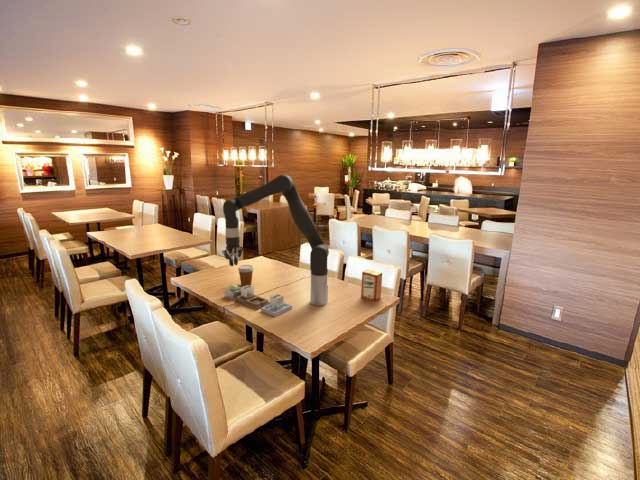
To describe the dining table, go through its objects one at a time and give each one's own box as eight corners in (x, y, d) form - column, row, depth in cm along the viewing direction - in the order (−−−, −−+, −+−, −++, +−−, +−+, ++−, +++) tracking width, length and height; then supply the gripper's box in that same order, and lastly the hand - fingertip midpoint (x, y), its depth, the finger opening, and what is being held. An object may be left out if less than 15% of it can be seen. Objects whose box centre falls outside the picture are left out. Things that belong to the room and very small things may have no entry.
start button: (235, 290, 191) (234, 284, 190) (238, 292, 189) (238, 285, 188) (230, 292, 188) (230, 286, 187) (234, 294, 186) (233, 287, 185)
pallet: (248, 295, 191) (248, 291, 190) (270, 304, 180) (270, 299, 179) (234, 301, 183) (234, 296, 182) (256, 310, 172) (256, 305, 172)
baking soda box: (380, 298, 192) (382, 272, 189) (375, 301, 187) (377, 274, 184) (366, 293, 198) (368, 268, 194) (361, 297, 193) (362, 271, 189)
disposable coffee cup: (236, 284, 208) (235, 266, 206) (249, 281, 214) (249, 263, 212) (242, 288, 201) (242, 270, 199) (256, 285, 207) (256, 267, 205)
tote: (278, 303, 181) (278, 300, 180) (292, 308, 175) (292, 305, 175) (261, 311, 171) (261, 307, 170) (274, 316, 165) (274, 313, 164)
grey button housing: (235, 293, 194) (235, 286, 193) (244, 296, 190) (244, 289, 189) (224, 297, 188) (224, 289, 187) (233, 300, 183) (233, 293, 182)
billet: (276, 305, 176) (276, 293, 175) (283, 308, 173) (283, 295, 172) (270, 308, 172) (269, 296, 171) (276, 311, 169) (276, 298, 168)
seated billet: (248, 296, 187) (247, 284, 185) (253, 298, 184) (253, 286, 182) (241, 299, 183) (240, 287, 181) (247, 301, 180) (246, 289, 178)
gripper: (238, 232, 188) (239, 261, 192) (217, 236, 178) (219, 266, 181) (246, 234, 184) (247, 264, 188) (226, 238, 173) (227, 269, 177)
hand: (233, 265), depth 185 cm, fingers closed
